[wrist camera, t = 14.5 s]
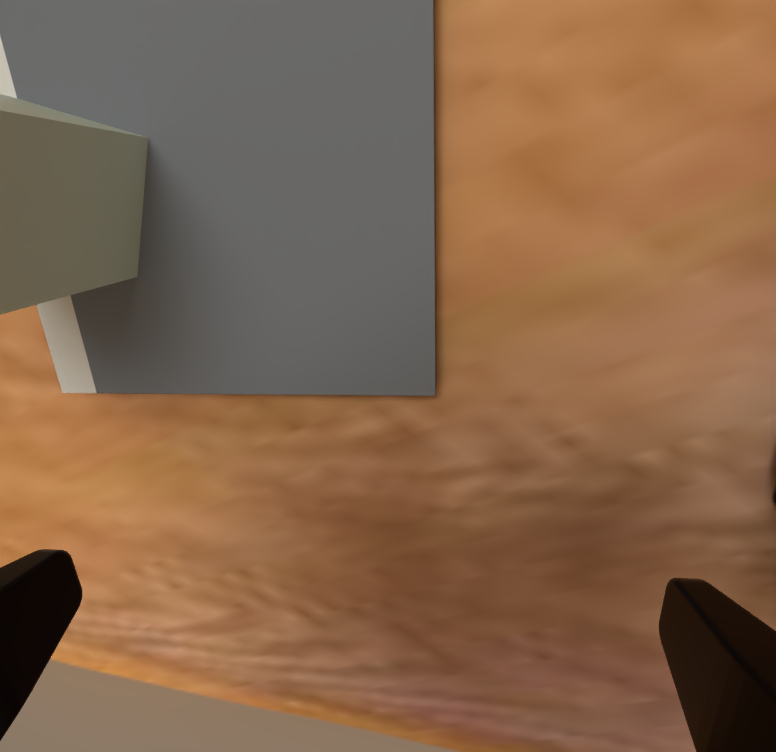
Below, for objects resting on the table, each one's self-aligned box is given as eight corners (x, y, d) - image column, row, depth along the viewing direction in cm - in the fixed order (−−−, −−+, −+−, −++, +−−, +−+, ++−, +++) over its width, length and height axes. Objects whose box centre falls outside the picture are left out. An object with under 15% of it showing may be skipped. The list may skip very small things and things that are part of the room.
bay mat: (433, -33, 15) (433, -48, 14) (435, 386, 20) (435, 395, 19) (-27, 11, 17) (-54, 1, 16) (78, 384, 22) (62, 392, 21)
